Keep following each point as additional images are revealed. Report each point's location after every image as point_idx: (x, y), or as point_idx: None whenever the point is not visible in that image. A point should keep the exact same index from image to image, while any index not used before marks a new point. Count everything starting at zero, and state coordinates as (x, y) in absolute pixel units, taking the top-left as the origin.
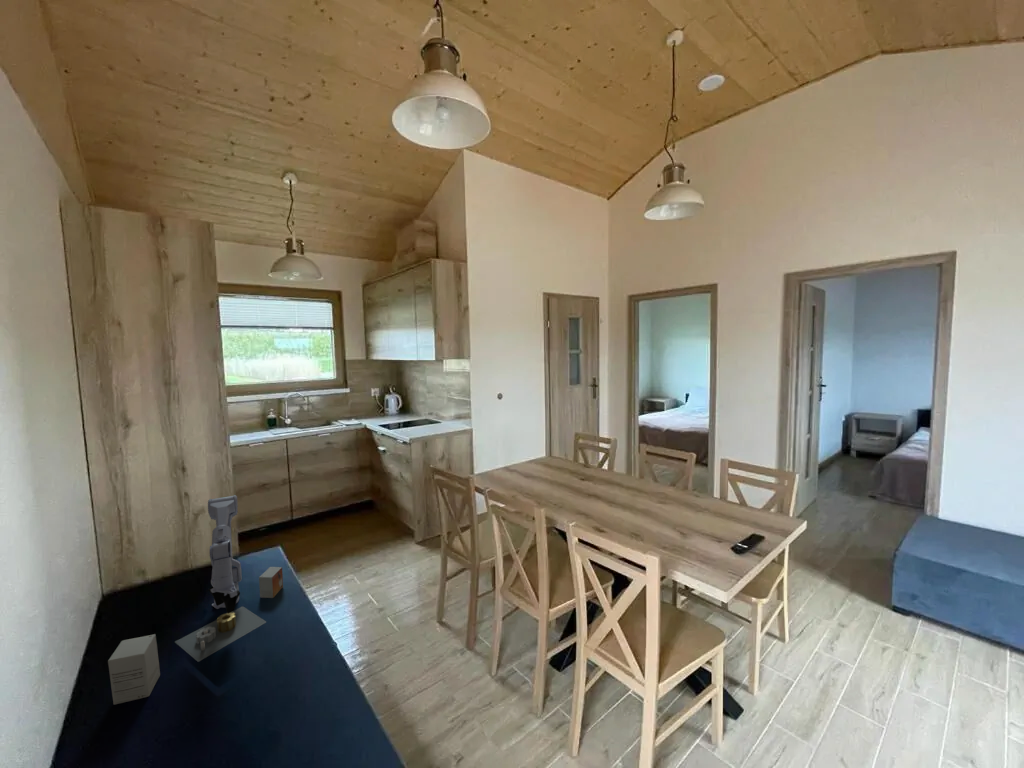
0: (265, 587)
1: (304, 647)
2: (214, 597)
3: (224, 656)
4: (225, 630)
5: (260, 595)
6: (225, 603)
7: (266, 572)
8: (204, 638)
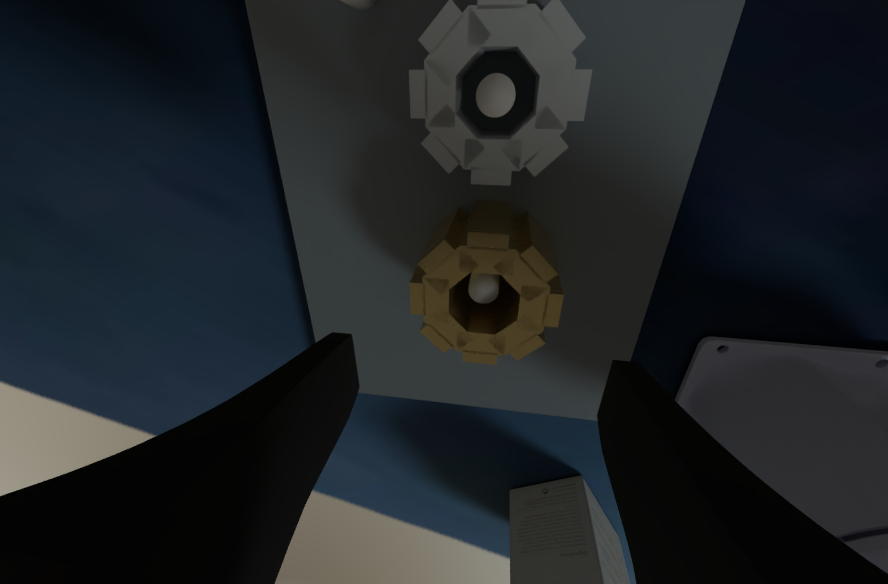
0: (555, 576)
1: (59, 350)
2: (688, 477)
3: (227, 91)
4: (434, 230)
5: (584, 507)
6: (154, 448)
7: None
8: (422, 39)
